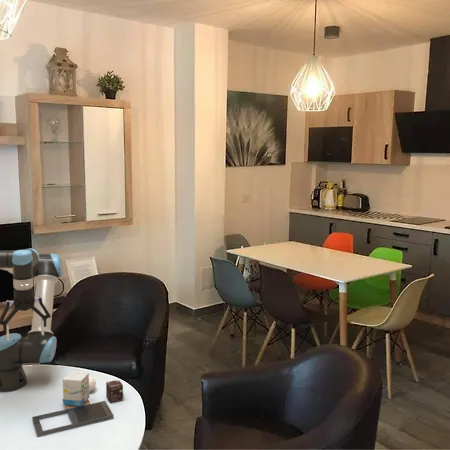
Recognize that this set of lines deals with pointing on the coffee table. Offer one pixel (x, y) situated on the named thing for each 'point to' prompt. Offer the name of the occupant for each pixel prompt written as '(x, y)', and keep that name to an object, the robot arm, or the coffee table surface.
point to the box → (114, 391)
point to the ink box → (76, 388)
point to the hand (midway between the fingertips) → (25, 336)
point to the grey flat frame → (76, 417)
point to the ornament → (91, 383)
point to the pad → (76, 406)
